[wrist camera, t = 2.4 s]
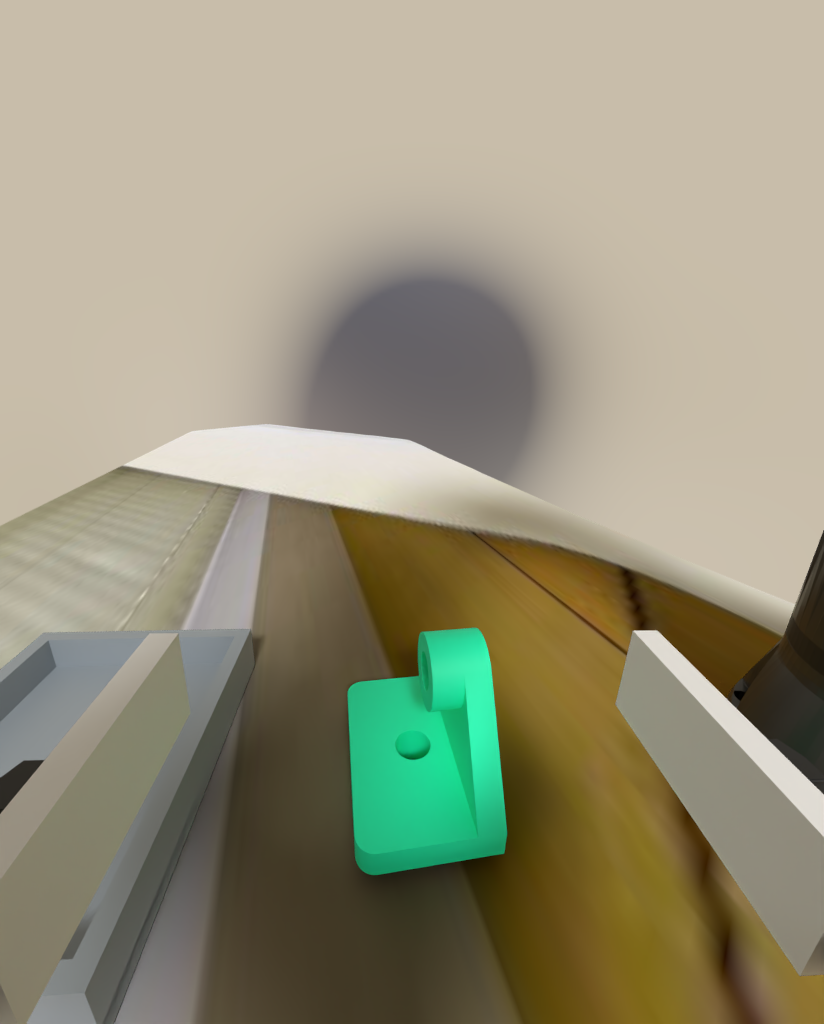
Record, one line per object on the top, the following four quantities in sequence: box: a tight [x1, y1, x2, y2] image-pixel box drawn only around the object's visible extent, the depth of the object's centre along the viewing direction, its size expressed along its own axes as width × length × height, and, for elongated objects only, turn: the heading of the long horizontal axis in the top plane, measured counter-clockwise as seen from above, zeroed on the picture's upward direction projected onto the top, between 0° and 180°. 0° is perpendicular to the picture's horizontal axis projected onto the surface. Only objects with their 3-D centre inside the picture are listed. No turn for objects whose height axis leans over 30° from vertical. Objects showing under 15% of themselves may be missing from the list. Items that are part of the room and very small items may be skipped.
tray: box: [0, 629, 255, 1024], centre depth 26 cm, size 16×22×4 cm
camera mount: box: [348, 628, 507, 875], centre depth 27 cm, size 12×8×10 cm, turn 10°
